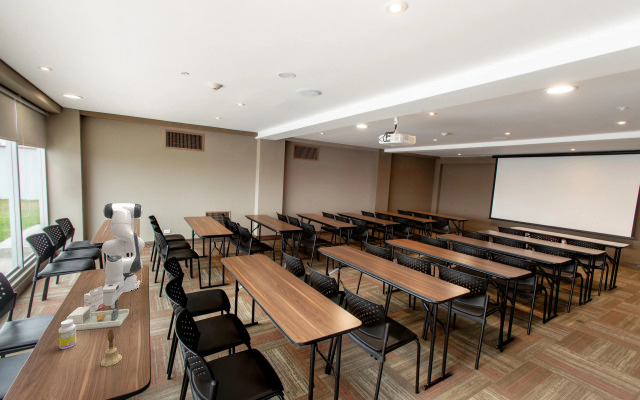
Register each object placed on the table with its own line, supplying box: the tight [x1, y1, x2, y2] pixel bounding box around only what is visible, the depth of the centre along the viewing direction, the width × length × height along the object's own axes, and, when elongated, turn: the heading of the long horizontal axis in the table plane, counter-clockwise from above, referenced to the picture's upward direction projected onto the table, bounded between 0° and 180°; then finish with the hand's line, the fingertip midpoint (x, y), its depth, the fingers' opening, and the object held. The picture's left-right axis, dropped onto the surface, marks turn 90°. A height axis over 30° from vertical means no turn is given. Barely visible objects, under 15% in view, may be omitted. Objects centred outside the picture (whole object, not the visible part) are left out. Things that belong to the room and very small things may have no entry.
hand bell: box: [100, 327, 123, 368], centre depth 129 cm, size 8×8×16 cm
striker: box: [110, 299, 120, 321], centre depth 163 cm, size 5×3×11 cm, turn 18°
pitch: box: [66, 306, 130, 331], centre depth 161 cm, size 15×26×8 cm, turn 108°
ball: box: [97, 313, 105, 321], centre depth 161 cm, size 4×4×4 cm
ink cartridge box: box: [83, 285, 105, 312], centre depth 174 cm, size 9×5×15 cm, turn 168°
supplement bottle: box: [57, 319, 77, 350], centre depth 138 cm, size 7×7×13 cm
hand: (114, 305), depth 163 cm, fingers closed on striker, 3 cm apart
